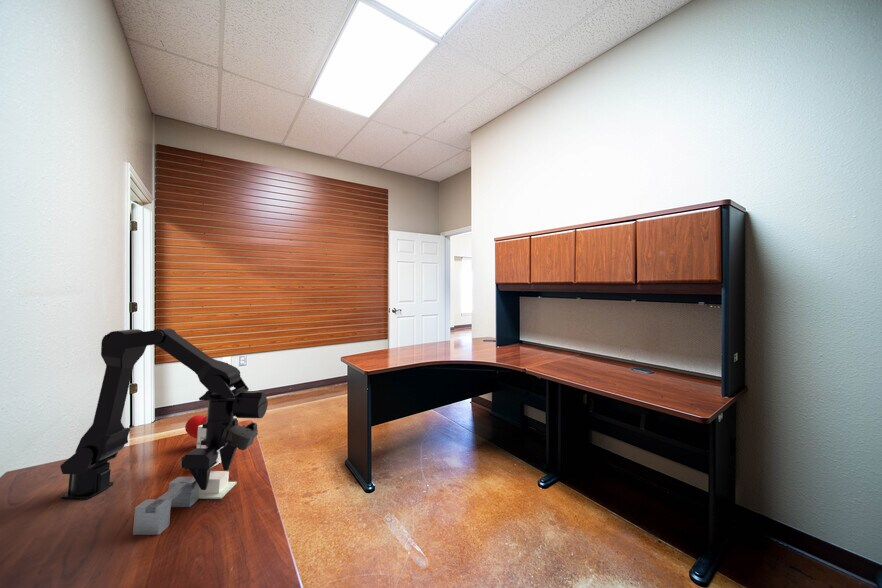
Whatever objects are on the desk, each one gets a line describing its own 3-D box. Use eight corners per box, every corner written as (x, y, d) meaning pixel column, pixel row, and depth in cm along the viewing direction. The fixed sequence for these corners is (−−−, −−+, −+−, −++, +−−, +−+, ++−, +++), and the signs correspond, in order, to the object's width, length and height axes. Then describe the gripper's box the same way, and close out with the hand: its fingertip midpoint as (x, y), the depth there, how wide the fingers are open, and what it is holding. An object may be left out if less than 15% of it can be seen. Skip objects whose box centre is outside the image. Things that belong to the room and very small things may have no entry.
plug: (180, 493, 80) (181, 479, 80) (191, 484, 84) (192, 470, 84) (218, 493, 81) (219, 479, 81) (227, 484, 85) (229, 471, 85)
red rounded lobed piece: (179, 453, 101) (182, 420, 101) (187, 443, 107) (189, 413, 108) (215, 449, 105) (218, 417, 105) (220, 440, 111) (222, 411, 111)
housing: (132, 534, 66) (135, 507, 66) (176, 499, 78) (178, 476, 78) (158, 534, 66) (161, 507, 67) (198, 499, 78) (199, 477, 79)
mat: (190, 498, 79) (190, 496, 79) (209, 482, 86) (209, 481, 86) (220, 498, 79) (221, 497, 79) (236, 483, 86) (236, 481, 86)
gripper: (232, 432, 75) (227, 501, 74) (269, 406, 93) (265, 462, 92) (181, 430, 74) (175, 501, 73) (228, 405, 92) (224, 461, 92)
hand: (215, 479), depth 83 cm, fingers open, 9 cm apart
